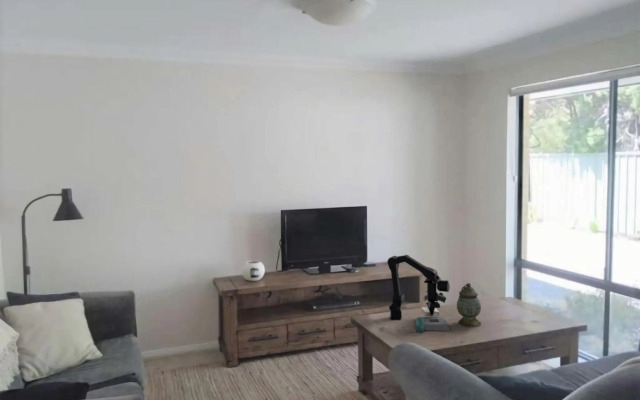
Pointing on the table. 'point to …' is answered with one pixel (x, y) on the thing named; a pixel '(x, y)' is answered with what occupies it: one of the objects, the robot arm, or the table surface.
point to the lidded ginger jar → (468, 306)
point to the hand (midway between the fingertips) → (431, 315)
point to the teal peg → (419, 325)
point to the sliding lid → (427, 313)
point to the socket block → (434, 323)
